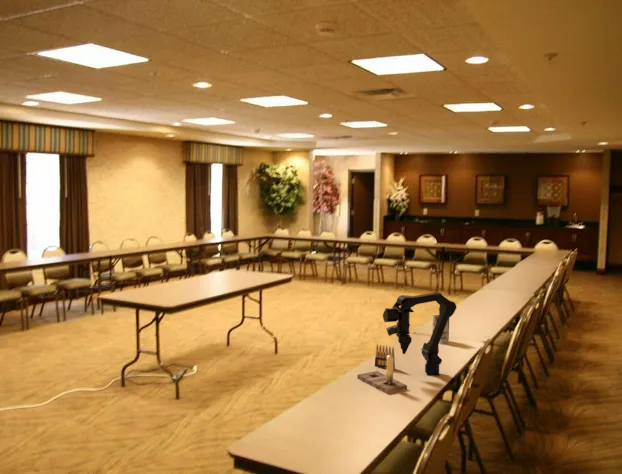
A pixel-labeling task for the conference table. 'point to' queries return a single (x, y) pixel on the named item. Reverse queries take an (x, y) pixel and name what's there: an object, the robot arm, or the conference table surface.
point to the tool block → (381, 382)
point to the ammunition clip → (383, 356)
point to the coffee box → (446, 331)
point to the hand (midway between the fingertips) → (402, 351)
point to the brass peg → (389, 370)
